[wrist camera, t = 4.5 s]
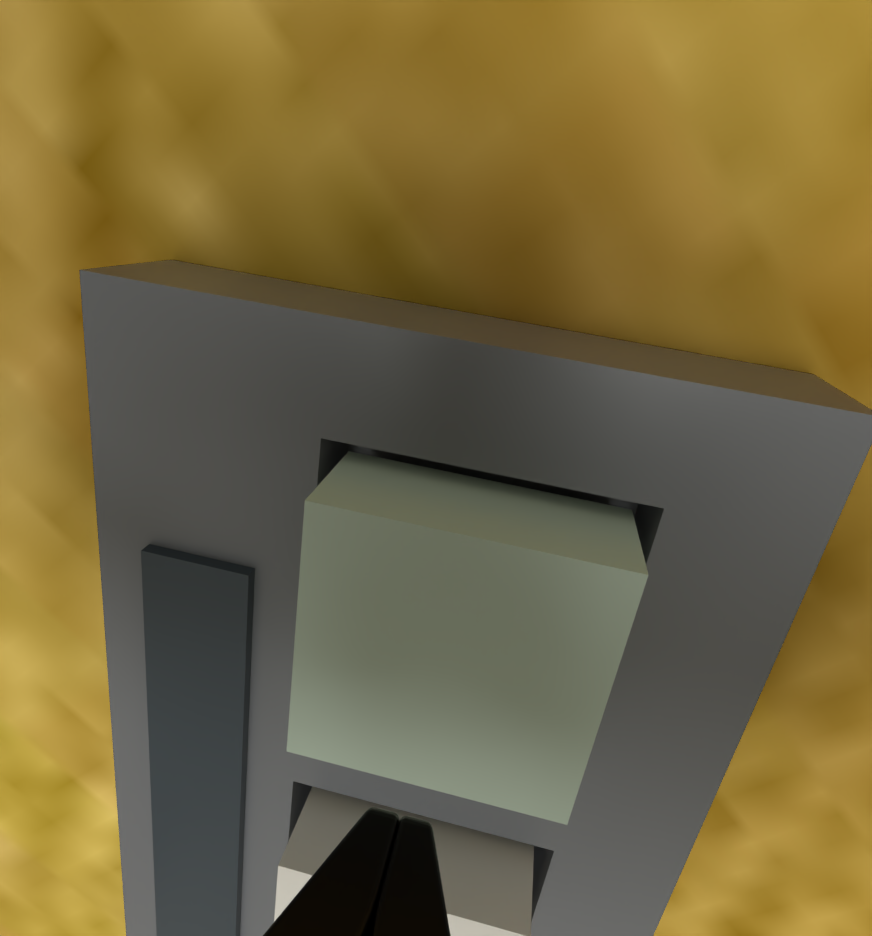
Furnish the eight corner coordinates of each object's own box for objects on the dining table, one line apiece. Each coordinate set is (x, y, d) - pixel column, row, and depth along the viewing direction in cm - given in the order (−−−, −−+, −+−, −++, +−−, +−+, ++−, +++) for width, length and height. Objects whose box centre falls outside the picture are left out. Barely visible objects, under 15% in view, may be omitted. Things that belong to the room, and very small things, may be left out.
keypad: (183, 1006, 26) (132, 1111, 23) (170, 259, 14) (67, 270, 11) (526, 1113, 24) (522, 1242, 21) (813, 374, 13) (891, 422, 10)
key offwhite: (302, 917, 18) (267, 1012, 16) (315, 777, 16) (277, 865, 14) (493, 973, 18) (483, 1079, 16) (534, 835, 16) (530, 937, 13)
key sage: (327, 672, 15) (286, 751, 13) (348, 451, 13) (304, 500, 10) (566, 730, 14) (567, 824, 12) (631, 509, 12) (648, 575, 10)
